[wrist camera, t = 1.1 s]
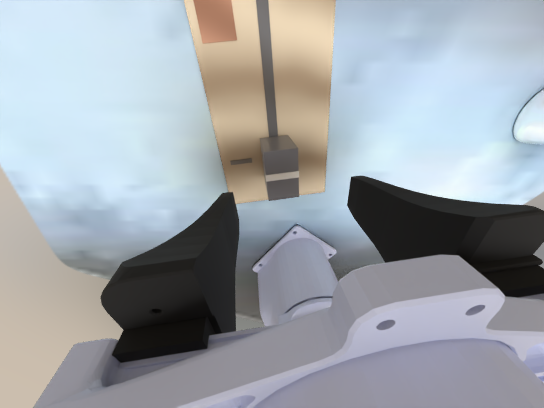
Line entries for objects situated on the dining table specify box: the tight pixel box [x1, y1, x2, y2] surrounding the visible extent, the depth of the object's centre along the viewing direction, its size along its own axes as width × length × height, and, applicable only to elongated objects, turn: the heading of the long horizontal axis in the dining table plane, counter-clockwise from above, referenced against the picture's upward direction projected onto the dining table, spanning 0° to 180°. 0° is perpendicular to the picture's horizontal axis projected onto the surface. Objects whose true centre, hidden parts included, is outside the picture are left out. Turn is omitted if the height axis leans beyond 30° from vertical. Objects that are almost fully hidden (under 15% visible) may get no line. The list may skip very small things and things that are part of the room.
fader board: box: [184, 0, 336, 204], centre depth 17 cm, size 20×10×2 cm, turn 5°
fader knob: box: [260, 135, 299, 201], centre depth 17 cm, size 4×2×4 cm, turn 5°
